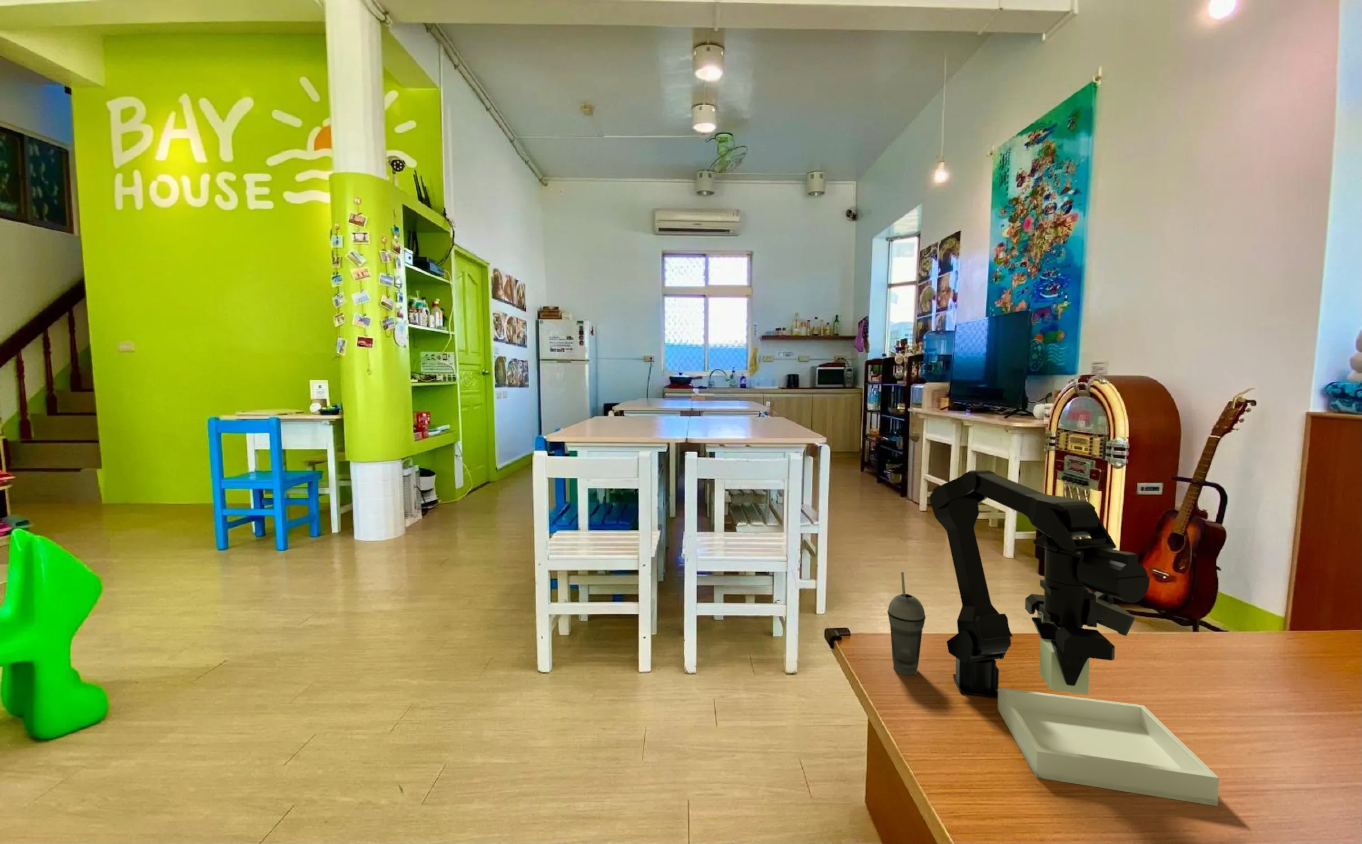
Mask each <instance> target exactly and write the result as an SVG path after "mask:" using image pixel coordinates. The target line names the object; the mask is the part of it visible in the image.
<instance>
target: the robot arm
mask: <svg viewBox="0 0 1362 844" xmlns="http://www.w3.org/2000/svg"><path fill="white" fill-rule="evenodd" d="M987 498H988V499H989V500H992V501H993V502H996V503H998V504H1000V505H1001V506H1002V505H1003V506H1004V507H1006V508H1009V509H1011V510H1013V511H1016V512H1017V513H1020V514H1022V515H1024V516H1025V517H1026V518H1027V519H1028V520H1029V522H1030V524H1031V525H1032V526H1033V527H1034V528H1036V529H1037V530H1039V531H1040V532H1041V533H1042V535H1040V536H1039V537H1036V538H1035V539H1033V541H1032V543H1033V545H1036V546H1038V547H1042V548H1044V578H1043V579H1039V586H1040V587H1041V588H1042V589H1043V590H1044V591H1043V594H1038V593H1037V594H1036V593H1030V594H1029V595H1027V596H1026V597H1025V599H1024V609H1025V611H1026V612H1027V613H1028V614H1029V615H1035V613H1036V611H1037V615H1036V616H1033V617H1031V622H1032V623H1033V624H1034V627H1035V629H1036V631H1037V633H1038V636H1039V639H1049V640H1051V644H1052V647H1053V649H1054V652H1055V655H1056V658H1057V661H1058V663H1059V666H1060V669H1061V672H1062V675H1063V677H1064V680H1065V683H1066V684H1067V685H1070V686H1075V684H1076V682H1077V680H1078V678H1079V676H1080V673H1081V671H1082V669H1083V667H1084V665H1085V663H1086V661H1087V660H1088V658H1089V659H1097V660H1103V661H1114V660H1115V652H1116V651H1115V650H1116V646H1115V645H1114V644H1113V643H1112V642H1111V641H1110V640H1109V639H1107V637H1105V636H1104V635H1103V634H1102V633H1101V632H1100V631H1099V630H1097V629H1091V628H1097V627H1098V624H1099V625H1100V626H1103V627H1105V628H1107V629H1110V630H1113V631H1115V632H1116V633H1118V634H1119V635H1122V636H1125V637H1127V635H1128V634H1129V632H1130V630H1131V628H1132V627H1133V624H1134V621H1136V617H1135V616H1134V615H1133V614H1131V613H1130V612H1129V611H1127V610H1126V609H1125V608H1123V607H1121V606H1119V605H1118V604H1115V603H1114V598H1115V599H1117V600H1120V601H1122V602H1125V603H1130V604H1135V603H1138V602H1140V601H1141V600H1142V599H1144V597H1145V596H1146V595H1147V593H1148V591H1149V588H1150V581H1151V580H1150V576H1149V575H1148V573H1147V569H1146V568H1145V567H1144V566H1143V565H1142V564H1141V563H1139V555H1138V553H1134V552H1131V551H1121V550H1119V549H1118V550H1116V548H1117V545H1116V543H1115V542H1114V540H1113V538H1112V536H1111V535H1110V534H1109V532H1108V530H1107V528H1106V526H1105V525H1104V524H1103V522H1102V520H1101V519H1100V517H1099V516H1098V512H1097V511H1096V507H1095V506H1094V504H1092V503H1090V502H1089V501H1088V500H1084V499H1079V498H1073V497H1070V496H1069V497H1068V496H1061V495H1054V494H1052V495H1051V494H1046V493H1043V492H1040V491H1039V490H1035V489H1033V488H1031V487H1028V486H1026V485H1023V484H1020V483H1019V482H1017V481H1013V480H1011V479H1008V478H1006V477H1004V476H1001V475H998V474H996V473H995V471H992V470H990V469H989V470H988V469H981V470H980V469H977V470H968V471H967V472H965V473H964V474H962V475H961V476H959V477H956V478H954V479H952V480H950V481H946V482H945V483H942V484H941V485H937V486H935V487H934V488H933V490H932V492H931V493H930V494H929V502H930V505H931V508H932V512H933V515H934V518H935V519H936V520H937V522H938V523H939V524H940V525H941V526H942V528H943V529H945V531H946V534H947V535H946V536H947V540H948V543H949V549H950V553H951V558H952V562H953V567H954V572H955V573H954V574H955V577H956V581H957V586H958V590H959V591H958V592H959V595H960V600H961V609H960V612H959V614H958V617H957V620H956V625H957V634H955V635H954V636H952V637H951V638H949V639H948V640H947V641H946V647H947V650H948V653H949V654H950V655H952V656H953V657H955V673H954V674H952V675H953V676H952V678H953V680H954V682H955V684H956V687H957V689H958V691H959V692H960V693H961V694H964V695H965V694H967V695H975V696H980V697H981V696H982V697H989V698H998V688H999V676H1000V669H999V667H998V666H997V661H996V660H999V659H1000V660H1004V658H1005V655H1006V653H1007V652H1008V650H1009V648H1010V647H1011V646H1012V638H1013V634H1012V632H1011V630H1010V626H1009V619H1008V617H1007V615H1006V613H999V611H998V610H997V609H996V608H995V606H993V604H992V601H991V598H990V597H991V596H990V593H989V588H988V584H987V580H986V575H985V571H984V566H983V562H982V558H981V554H980V549H979V545H978V540H977V536H976V532H975V531H976V530H975V526H976V524H977V521H978V519H979V515H980V509H979V504H980V503H982V502H983V501H985V500H986V499H987ZM1085 537H1086V538H1085ZM1088 537H1089V538H1088ZM1073 538H1075V539H1073ZM1093 591H1094V592H1093ZM1084 626H1086V627H1089V628H1083V627H1084Z"/></svg>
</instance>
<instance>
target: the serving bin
mask: <svg viewBox="0 0 1362 844" xmlns="http://www.w3.org/2000/svg"><path fill="white" fill-rule="evenodd" d="M997 693H998V697H997V711H998V712H999V714H1000V716H1001V718H1002V719H1003V721H1004V722H1005V725H1006V727H1007V728H1008V730H1009V732H1010V734H1011V735H1012V737H1013V739H1014V741H1015V742H1016V744H1017V746H1018V748H1019V750H1020V752H1022V754H1023V756H1024V759H1025V761H1026V762H1027V764H1028V766H1029V767H1030V770H1031V771H1032V772H1033V774H1034V776H1035V778H1036V779H1043V780H1048V781H1049V780H1050V781H1056V782H1061V783H1062V782H1063V783H1070V784H1076V785H1083V786H1088V787H1095V788H1100V789H1107V790H1114V791H1120V792H1125V793H1132V794H1138V795H1139V794H1140V795H1143V796H1144V795H1145V796H1152V797H1157V798H1164V799H1169V800H1170V799H1171V800H1177V801H1183V802H1190V803H1195V804H1196V803H1197V804H1202V805H1208V806H1215V807H1218V806H1219V787H1220V777H1218V775H1216V774H1215V772H1214V771H1212V769H1210V768H1209V767H1208V766H1207V765H1206V764H1205V763H1204V762H1203V761H1202V760H1201V759H1200V758H1199V757H1198V756H1197V755H1196V754H1195V753H1194V752H1193V751H1192V750H1190V748H1188V746H1187V745H1185V743H1183V742H1182V740H1180V739H1179V738H1178V737H1177V736H1176V735H1175V734H1174V733H1173V732H1172V731H1171V730H1170V729H1169V728H1167V726H1166V725H1165V724H1164V723H1162V722H1161V720H1160V719H1158V718H1157V717H1156V716H1155V715H1154V714H1153V713H1152V712H1151V711H1150V710H1149V709H1148V708H1147V707H1146V706H1145V705H1144V704H1136V703H1129V702H1128V703H1127V702H1118V701H1111V700H1104V699H1095V698H1087V697H1079V696H1078V697H1077V696H1071V695H1062V694H1055V693H1053V694H1052V693H1047V692H1038V691H1029V690H1022V689H1021V690H1020V689H1014V688H1007V687H1005V688H1004V687H998V690H997Z"/></svg>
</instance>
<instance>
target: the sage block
mask: <svg viewBox="0 0 1362 844" xmlns="http://www.w3.org/2000/svg"><path fill="white" fill-rule="evenodd" d="M1039 639H1040V640H1039V641H1040V642H1039V646H1040V647H1039V649H1040V650H1039V676H1040V677H1041V679H1042V680H1043V681H1044V682H1045V684H1046V685H1047V687H1048V688H1049V690H1050V691H1056V692H1057V691H1058V692H1064V693H1073V694H1079V695H1088V696H1089V688H1090V687H1089V684H1090V683H1089V682H1090V681H1089V680H1090V678H1089V677H1090V658H1088V660H1087V661H1086V663H1085V665H1084V667H1083V669H1082V671H1081V673H1080V676H1079V678H1078V680H1077V682H1076V684H1075V686H1070V685H1067V684H1066V683H1065V680H1064V677H1063V675H1062V672H1061V669H1060V666H1059V663H1058V661H1057V658H1056V655H1055V652H1054V649H1053V647H1052V644H1051V640H1049V639H1041V638H1039Z"/></svg>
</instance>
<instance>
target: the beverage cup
mask: <svg viewBox="0 0 1362 844" xmlns="http://www.w3.org/2000/svg"><path fill="white" fill-rule="evenodd" d="M904 574H905V573H904V571H901V572H900V577H901V578H900V579H901V590H902V591H901V592H902V593H901V594H898V595H895V596H894V597H893V598H892V599H891V601H890V602H889V604H888V608H887V615H888V621H889V628H890V640H891V641H890V642H891V654H892V655H891V656H892V657H891V658H892V663H893V664H892V665H893V670H894V671H896V672H897V673H899V674H901V675H907V676H913V675H916V674H917V673H918V668H919V661H920V653H921V645H922V644H921V643H922V637H923V636H922V635H923V628H924V627H925V621H926V617H927V616H926V615H925V613H926V612H925V609H924V606H923V604H922V602H921V601H920V600H919V598H916V597H915V596H914V595H912V594H909V593H906V585H905V584H906V583H905V575H904Z"/></svg>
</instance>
